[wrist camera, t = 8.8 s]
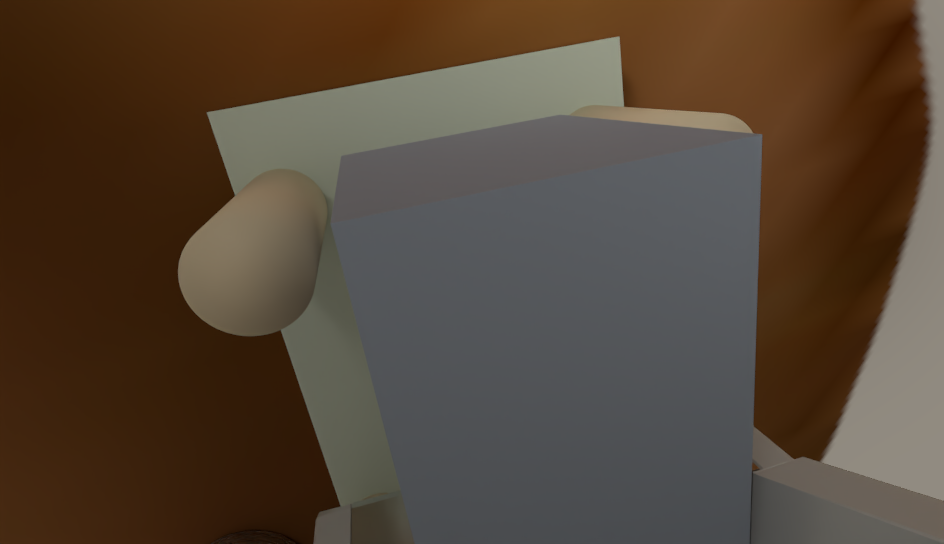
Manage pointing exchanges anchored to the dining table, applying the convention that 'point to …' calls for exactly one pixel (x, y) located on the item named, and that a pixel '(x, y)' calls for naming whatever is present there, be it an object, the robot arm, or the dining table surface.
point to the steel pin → (254, 538)
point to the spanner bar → (561, 328)
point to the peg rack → (311, 204)
